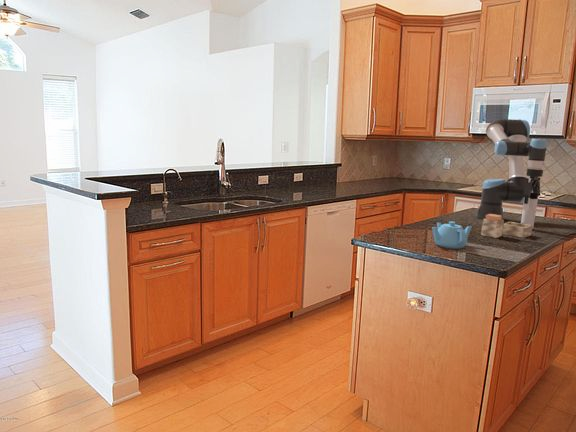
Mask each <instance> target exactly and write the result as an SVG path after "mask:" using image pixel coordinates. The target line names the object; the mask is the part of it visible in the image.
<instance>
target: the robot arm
mask: <svg viewBox="0 0 576 432" xmlns="http://www.w3.org/2000/svg"><path fill="white" fill-rule="evenodd" d="M530 131H531V125H530V123H529V121H527V120H525V119H520V118H519V119H508V118H507V119H506V118H504V119H503V118H499V119H498V118H497V119H495V120H493V121H491V122H490V123H489V124H488V125H487V127H486V130H485V133H486V136H487V137H488V138H489V139H490V140H492V141H493V143H494V148H493V151H494V154H495V155H498V156H508V169H509V170H508V173H509V174H508V175H509V178H508V179H505V178H489V179H485V180H484V181H483V184H482V187H481V189H482V190H481V198H480V199H481V200H480V205H479V207H478V209H477V211H476V213H475V217H476V218H477V219H480V220H481V219H482V220H483V219H485V218H486V215H488V214H495V215H501V216H502V218H501V220H504V217H505V215H504V210H503V202H506V203H507V202H508V203H519V204H521V203H523V204H522V211H523V210H529V203H530V198H529V197H530V195H531V193H536V194H538V197H537V198H538V199H539V197H540V196H541V178H542V177H543V174H544V166H545V165H546V162H545V160H546V154H547V147H548V140H547V139H545V138H532V139H531V141H527V139H529V138H530V134H531V132H530ZM525 157H528V158H527V159H528V160H527V169H526V159H525ZM528 177H529V178H528ZM538 202H539V201H538V200H537V203H538ZM537 208H538V206H537V207H536V209H537Z"/></svg>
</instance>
